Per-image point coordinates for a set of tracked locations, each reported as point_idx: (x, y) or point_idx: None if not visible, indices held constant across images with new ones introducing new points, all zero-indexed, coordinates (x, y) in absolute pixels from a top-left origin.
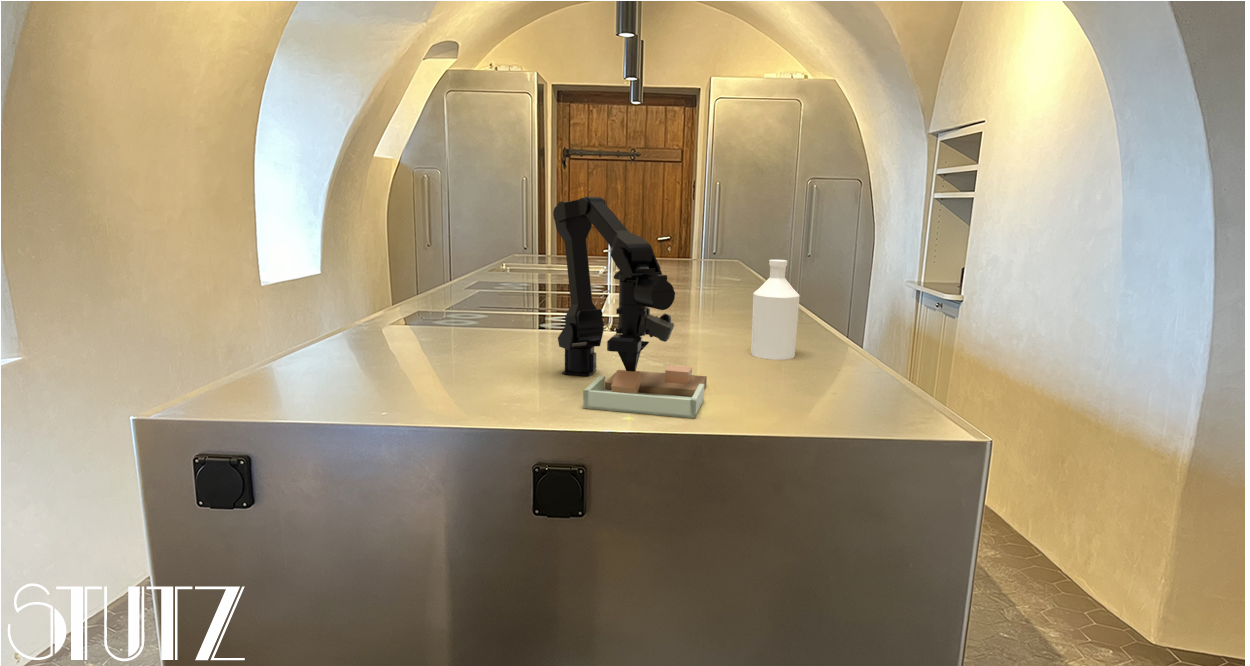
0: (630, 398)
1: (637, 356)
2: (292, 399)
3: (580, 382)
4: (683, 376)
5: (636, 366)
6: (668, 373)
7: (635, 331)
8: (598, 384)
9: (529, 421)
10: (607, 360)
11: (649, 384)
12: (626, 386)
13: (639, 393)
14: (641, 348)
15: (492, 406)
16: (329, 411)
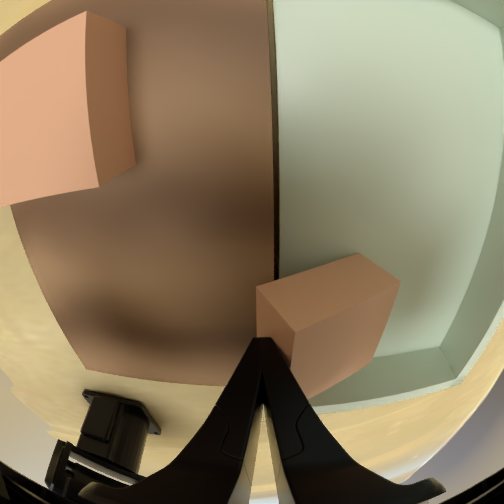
0: None
1: (301, 444)
2: None
3: (198, 409)
4: (105, 47)
5: (247, 376)
6: (105, 156)
7: None
8: (366, 392)
9: (485, 373)
10: (17, 367)
11: (232, 234)
12: (386, 319)
13: (292, 252)
14: (443, 492)
15: (404, 433)
16: (402, 469)
